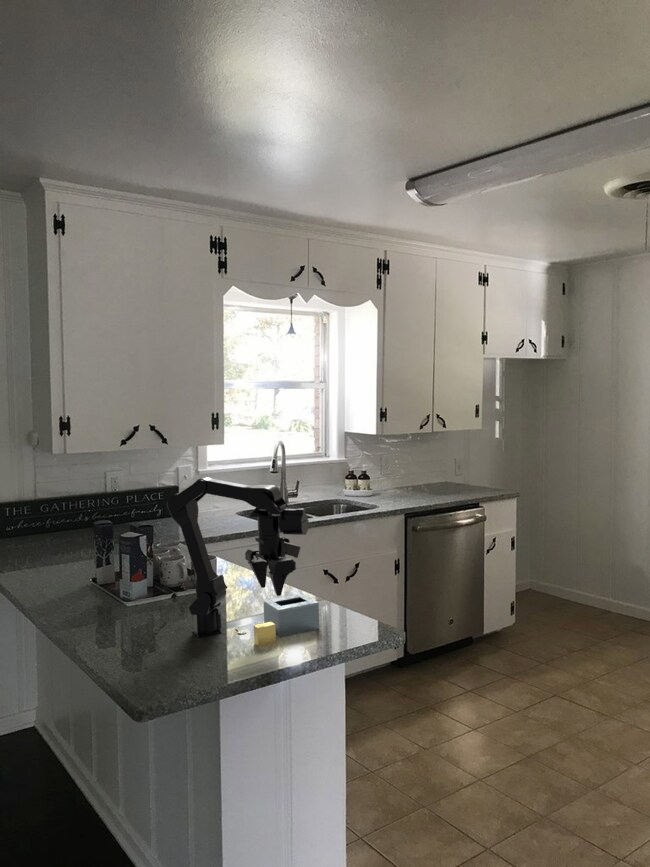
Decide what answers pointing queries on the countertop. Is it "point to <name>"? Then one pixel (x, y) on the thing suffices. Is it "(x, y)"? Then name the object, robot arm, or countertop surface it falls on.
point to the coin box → (292, 614)
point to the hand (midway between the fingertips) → (270, 591)
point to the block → (264, 634)
